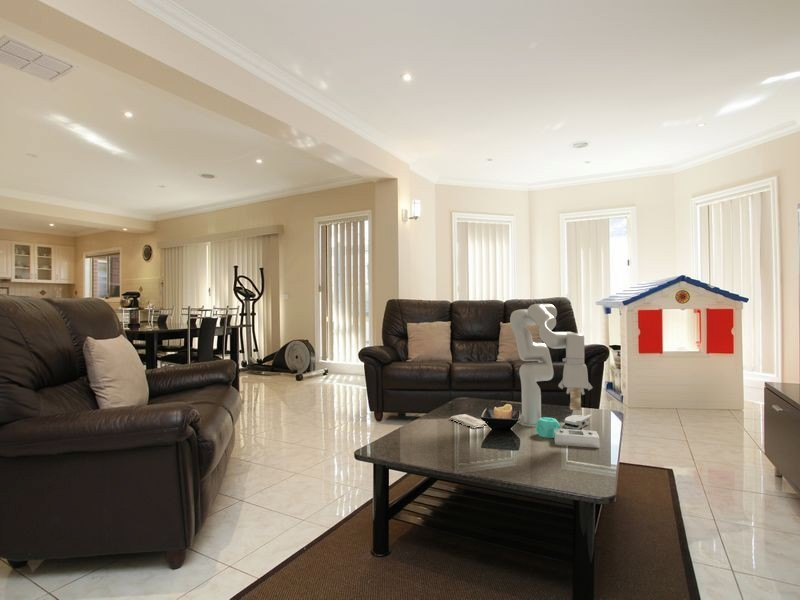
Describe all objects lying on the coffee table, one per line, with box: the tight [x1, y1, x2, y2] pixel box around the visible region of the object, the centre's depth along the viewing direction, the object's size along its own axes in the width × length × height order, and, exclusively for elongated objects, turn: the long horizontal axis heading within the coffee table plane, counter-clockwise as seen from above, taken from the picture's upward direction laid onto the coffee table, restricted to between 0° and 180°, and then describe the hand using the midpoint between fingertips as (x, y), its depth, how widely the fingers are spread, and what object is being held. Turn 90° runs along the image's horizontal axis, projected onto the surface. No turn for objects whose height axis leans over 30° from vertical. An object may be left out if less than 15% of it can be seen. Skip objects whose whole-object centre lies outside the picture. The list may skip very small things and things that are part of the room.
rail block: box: [553, 428, 601, 449], centre depth 196 cm, size 18×10×5 cm, turn 73°
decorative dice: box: [535, 416, 561, 439], centre depth 208 cm, size 8×8×8 cm
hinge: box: [563, 413, 593, 430], centre depth 225 cm, size 17×5×10 cm
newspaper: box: [449, 413, 487, 429], centre depth 231 cm, size 23×12×2 cm, turn 25°
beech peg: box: [569, 388, 582, 411], centre depth 195 cm, size 4×4×10 cm
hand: (575, 402), depth 195 cm, fingers closed on beech peg, 4 cm apart
